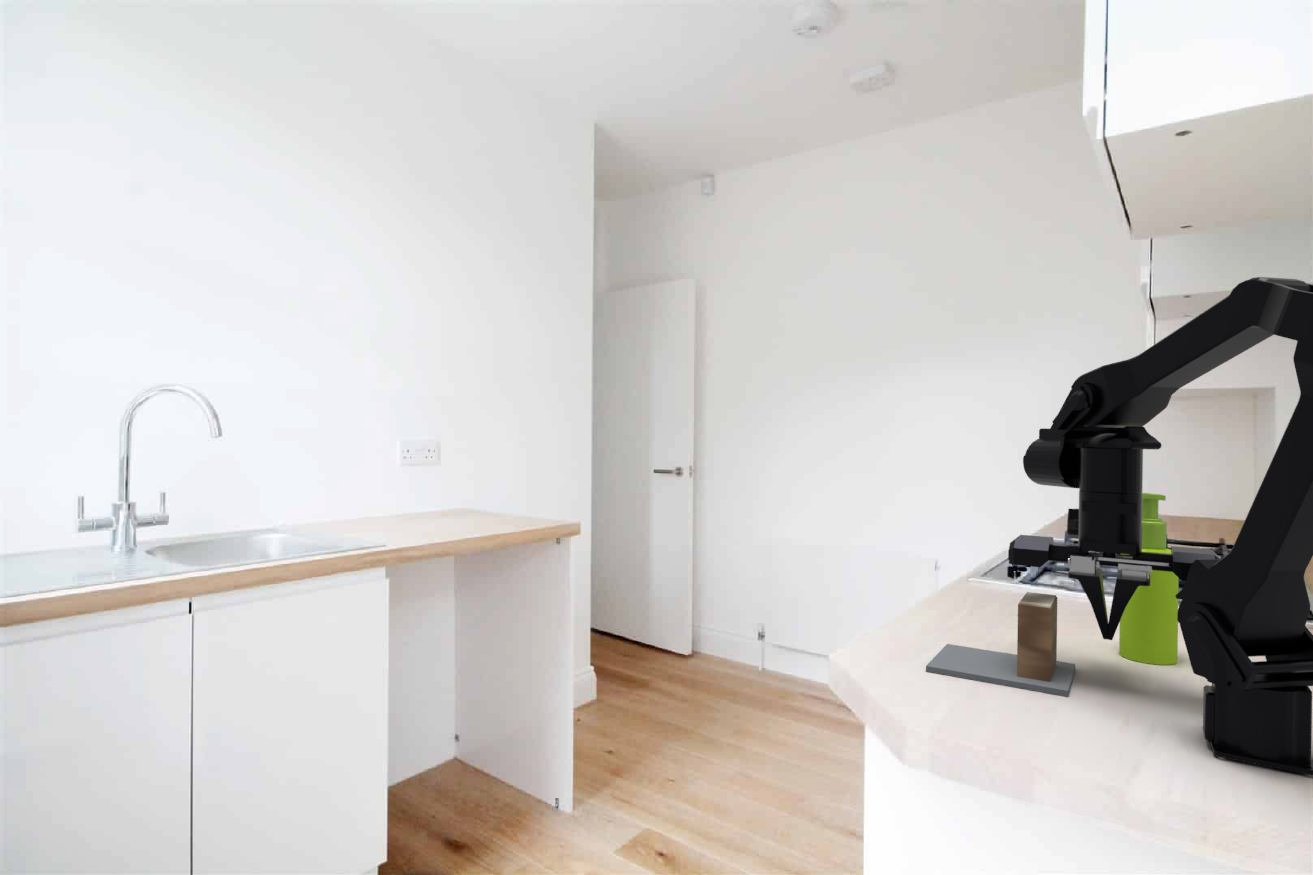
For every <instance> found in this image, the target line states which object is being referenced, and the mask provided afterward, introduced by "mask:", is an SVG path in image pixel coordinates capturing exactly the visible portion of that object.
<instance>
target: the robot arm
mask: <svg viewBox="0 0 1313 875" xmlns="http://www.w3.org/2000/svg"><path fill="white" fill-rule="evenodd" d="M1272 336H1277V337H1282V338H1285V339H1289V340H1293V341H1296V346H1295V349H1294V354H1293V357H1292V359H1293V365H1294V368H1295V372H1296V378H1297V383H1298V387H1299V391H1300V392H1299V393H1300V394H1299V397H1298V402H1297V403H1296V406H1295V408H1294V409H1293V412H1292V415H1291V417H1290V419H1289V420H1288V423H1287V426H1286V428H1285V431H1284V433H1283V435H1282V437H1281V439H1280V442H1279V444H1278V446H1277V448H1276V450H1275V452H1274V454H1273V456H1272V459H1271V461H1270V463H1269V466H1268V468H1267V470H1266V473H1265V475H1264V477H1263V479H1262V481H1261V483H1260V485H1259V488H1258V490H1257V493H1256V494H1255V497H1254V499H1253V502H1252V503H1251V506H1250V507H1249V510H1248V512H1247V515H1246V517H1245V520H1244V522H1243V524H1242V526H1241V528H1240V531H1239V532H1238V535H1237V537H1236V539H1235V542H1234V544H1233V547H1232V548H1231V550H1230V551H1229V552H1228V553H1227V554H1226V555H1224V556H1223V557H1221V558H1220V556H1219V555H1218V554H1217V553H1216V552H1214V551H1213V550H1212V549H1211V548H1197V547H1186V546H1185V547H1184V546H1173V545H1172V546H1171V547H1170V549H1171V554H1167V553H1155V552H1143V551H1141V550H1142V493H1143V478H1144V477H1143V472H1144V471H1143V468H1144V466H1143V465H1144V462H1143V461H1144V460H1143V459H1144V450H1160V449H1161V448H1162V443H1161V442H1160V441H1159V440H1158V439H1157V438H1156V437H1155V436H1153V435H1151V434H1150V433H1149V432H1148V431H1147V429H1146V427H1144V426H1145V425H1147V424H1149V423H1150V422H1151V421H1152V420H1153V419H1155V418H1156V417H1157V416H1158V415H1159V414H1161V413H1162V412H1163V411H1164V410H1165V409H1166V408H1167V407H1168V406H1169V404H1170V401H1171V398H1172V395H1173V394H1174V393H1176V392H1177V391H1179V390H1180V389H1181V388H1182V387H1184V386H1186V385H1188V384H1189V383H1191V382H1194V381H1196V379H1199V378H1201V377H1202V376H1204V375H1206V374H1208V373H1209V372H1211V371H1213V370H1214V369H1216V368H1218V367H1219V366H1221V365H1223V364H1224V363H1227V362H1228V361H1230V360H1232V359H1234V358H1236V357H1237V356H1239V355H1240V354H1242V353H1244V352H1246V351H1247V350H1249V349H1251V348H1253V347H1255V346H1257V345H1258V344H1260V343H1262V342H1263V341H1265V340H1267V339H1268V338H1271V337H1272ZM1070 388H1071V389H1070V391H1069V392H1068V395H1067V396H1066V397H1065V398H1066V399H1065V400H1064V402H1063V404H1062V406H1061V408H1060V410H1059V412H1058V413H1057V415H1056V416H1055V417H1054V419H1053V420H1052V422H1051V423H1052V425H1051V426H1050V428H1040V429H1039V430H1038V439H1035V440H1034V441H1032V442H1031V443H1030V444H1029V445H1028V447H1027V449H1026V450H1025V454H1024V455H1023V458H1022V463H1023V469H1024V473H1025V474H1026V477H1028V478H1029V479H1030V481H1032V482H1033V483H1035V484H1037V485H1041V486H1050V487H1058V488H1060V487H1061V488H1070V489H1079V490H1078V491H1079V492H1078V508H1068V509H1067V510H1068V511H1067V512H1068V513H1067V525H1066V533H1067V537H1068V538H1069V539H1077V540H1078V542H1077V543H1078V544H1077V545H1066V544H1055V543H1054V542H1055V541H1054V537H1052V536H1043V535H1042V536H1041V535H1028V534H1020V535H1019V536H1017V537H1016V538H1015V539H1013V540H1012V541H1011V542H1009V546H1008V564H1009V565H1013V566H1014V565H1015V566H1023V567H1033V568H1035V567H1036V568H1041V567H1042V566H1043V565H1045V564H1046V563H1047V562H1049V561H1051V562H1053V561H1054V562H1064V563H1067V567H1069V570H1068V572H1067V578H1069V579H1072V580H1077V581H1078V582H1079V583H1080V585H1081V588H1082V590H1083V591H1084V593H1085V595H1086V597H1087V599H1088V601H1089V603H1090V605H1091V608H1092V610H1093V613H1094V617H1095V618H1096V621H1097V624H1098V627H1099V630H1100V633H1101V635H1102V639H1103V640H1109V641H1112V640H1113V639H1114V636H1115V634H1116V631H1117V629H1118V626H1119V625H1120V619H1121V617H1122V614H1123V612H1124V610H1125V608H1126V606H1127V604H1128V602H1129V601H1130V599H1131V597H1132V596H1133V594H1134V593H1135V591H1136V589H1137V588H1138V586H1150V582H1151V581H1150V574H1149V573H1152V570H1158V571H1169V572H1173V573H1174V574H1175V575H1176V576H1177V577H1179V580H1181V581H1182V582H1185V583H1184V585H1183V587H1182V588H1181V590H1180V591H1178V594H1177V595H1176V598H1177V599H1178V600H1181V601H1180V603H1179V604H1178V613H1177V620H1178V624H1179V625H1180V630H1181V635H1182V637H1183V641H1184V644H1185V648H1186V653H1187V654H1188V655H1187V656H1188V659H1189V661H1190V666H1191V670H1192V673H1193V674H1194V675H1196V676H1199V677H1202V678H1205V679H1206V681H1207V682H1208V683H1211V685H1208V684H1206V685H1204V686H1203V687H1202V688H1203V689H1202V690H1203V692H1202V694H1203V696H1202V699H1203V700H1202V733H1203V737H1204V740H1206V741H1207V742H1209V743H1210V746H1211V751H1212V753H1213V755H1214V756H1216V757H1219V758H1222V759H1223V758H1224V759H1227V760H1232V761H1237V762H1238V761H1239V762H1242V763H1243V762H1244V763H1248V764H1253V765H1257V766H1259V765H1260V766H1263V767H1269V768H1273V769H1279V770H1283V771H1288V772H1293V773H1297V774H1298V773H1299V774H1304V775H1309V776H1313V760H1312V736H1313V735H1312V731H1313V730H1312V727H1313V726H1312V723H1313V720H1312V719H1313V691H1312V690H1311V688H1310V687H1313V633H1312V632H1311V631H1310V630H1309V628H1307V626H1306V624H1307V621H1308V616H1309V614H1310V611H1311V602H1310V598H1309V592H1308V588H1307V585H1306V584H1307V583H1306V581H1305V575H1306V574H1305V573H1306V570H1307V568H1308V566H1309V565H1310V562H1311V560H1312V558H1313V284H1312V283H1306V282H1305V281H1304V280H1301V279H1297V278H1284V277H1283V278H1282V277H1269V276H1268V277H1267V276H1258V277H1252V278H1250V279H1246V280H1243V281H1241V282H1239V283H1238V284H1236V286H1235V287H1234V288H1233V289H1231V291H1230V294H1229V295H1227V296H1226V297H1225V298H1223V299H1221V300H1220V301H1218V302H1216V303H1215V304H1214V305H1212V306H1210V307H1209V308H1207V309H1206V310H1204V311H1203V312H1202V313H1199V315H1197V316H1196V317H1194V318H1192V319H1191V320H1189V321H1188V322H1186V323H1185V324H1183V325H1182V326H1181V327H1178V329H1175V330H1174V331H1173V332H1171V333H1170V334H1169V335H1167V336H1165V337H1164V338H1162V339H1160V340H1159V341H1158V342H1156V343H1155V344H1153V345H1152V346H1150V347H1149V348H1147V349H1146V350H1144V351H1142V352H1141V353H1139V354H1137V355H1136V356H1134V357H1130V358H1129V359H1124V360H1121V361H1117V362H1112V363H1108V364H1106V365H1101V366H1099V367H1097V368H1095V369H1091V370H1090V371H1087V372H1086V373H1083V374H1081V375H1080V376H1078V377H1077V378H1076V379H1075V380H1074V382H1073V383H1072V385H1071V386H1070ZM1121 554H1122V555H1121ZM1125 554H1129V555H1125ZM1100 566H1105V567H1115V568H1116V567H1117V568H1118V569H1117V572H1116V578H1115V585H1114V589H1113V590H1114V591H1113V597H1112V601H1111V607H1110V612H1109V616H1108V612H1107V603H1106V595H1105V588H1104V577H1103V568H1100ZM1108 618H1109V619H1108ZM1251 657H1252V658H1253V657H1265V660H1266V661H1265V660H1263V661H1260V660H1259V661H1252V660H1251V659H1250V658H1251Z"/></svg>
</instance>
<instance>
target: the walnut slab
mask: <svg viewBox="0 0 1313 875" xmlns="http://www.w3.org/2000/svg"><path fill="white" fill-rule="evenodd" d="M1057 637H1058V597H1057V594H1047V593H1039V592H1032V591H1031V592H1030V591H1026V592H1025V594H1024V595H1023V597H1022V598H1021V599H1020V601H1019V602H1018V604H1017V643H1016V644H1017V645H1016V646H1017V649H1016V650H1017V653H1016V655H1017V676H1018V677H1023V678H1029V679H1035V680H1041V681H1047V682H1051V679H1052V676H1053V673H1054V671H1055V668H1056V661H1057V656H1058V655H1057V647H1058V646H1057V643H1058V640H1057V639H1058V638H1057Z"/></svg>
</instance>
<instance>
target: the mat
mask: <svg viewBox="0 0 1313 875" xmlns="http://www.w3.org/2000/svg"><path fill="white" fill-rule="evenodd" d="M925 672H929V673H933V674H934V673H935V674H941V675H943V676H944V675H945V676H951V677H957V678H963V679H967V680H973V681H979V682H983V683H984V682H985V683H990V684H994V685H1000V686H1006V687H1012V688H1017V689H1023V690H1028V691H1033V692H1034V691H1035V692H1039V693H1040V692H1041V693H1046V694H1051V695H1057V696H1062V697H1068V698H1069V694H1070V690H1071V687H1072V683H1073V679H1074V676H1075V672H1076V663H1074V662H1073V663H1071V662H1065V661H1059V660H1056V668H1055V671H1054V673H1053V676H1052V679H1051V682H1047V681H1041V680H1035V679H1029V678H1023V677H1018V676H1017V654H1014V653H1008V652H1002V651H997V650H996V651H995V650H988V649H982V648H976V647H971V646H970V647H969V646H963V645H958V644H957V645H956V644H950V643H946V645H944V646H943V647H942V648H941V650H940V651H939V652H938V653H937V654H936V655H935V656H934V657H933V658H932V659H931V660H930V661H929V662H928V664H927V665H926V666H925Z"/></svg>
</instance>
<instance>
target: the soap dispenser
mask: <svg viewBox="0 0 1313 875" xmlns="http://www.w3.org/2000/svg"><path fill="white" fill-rule="evenodd" d="M1166 500H1167V498H1166V495H1164V494H1159V493H1151V492H1150V493H1149V492H1148V493H1147V492H1142V550H1141V551H1143V552H1155V553H1167V554H1171V548H1167V535H1168V534H1167V526H1168V524H1167V521H1163V520H1162V518H1159V503H1160V502H1159V501H1166ZM1120 555H1122V554H1120ZM1125 555H1129V554H1125ZM1149 574H1150V581H1151V582H1150V586H1138V588H1137V589H1136V591H1135V593H1134V594H1133V596H1132V597H1131V599H1130V601H1129V602H1128V604H1127V606H1126V608H1125V610H1124V612H1123V614H1122V617H1121V619H1120V622H1119V639H1118V640H1119V642H1118V643H1119V644H1118V646H1119V647H1118V650H1119V651H1118V653H1119V654H1118V655H1120V656H1121V657H1122V658H1124V659H1127V660H1131V661H1134V662H1139V663H1142V664H1150V665H1158V666H1172V665H1176V664H1177V663H1178V651H1179V650H1178V645H1179V644H1178V642H1179V640H1178V638H1179V636H1178V635H1179V632H1178V629H1179V622H1178V620H1177V613H1178V608H1179V599H1177V598H1176V595H1177V594H1178V593H1179V586H1180V585H1179V584H1180V583H1179V582H1180V581H1179V580H1180V578H1179V577H1177V576H1176V575H1175V574H1174V573H1173V572H1169V571H1158V570H1152V573H1149Z"/></svg>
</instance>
